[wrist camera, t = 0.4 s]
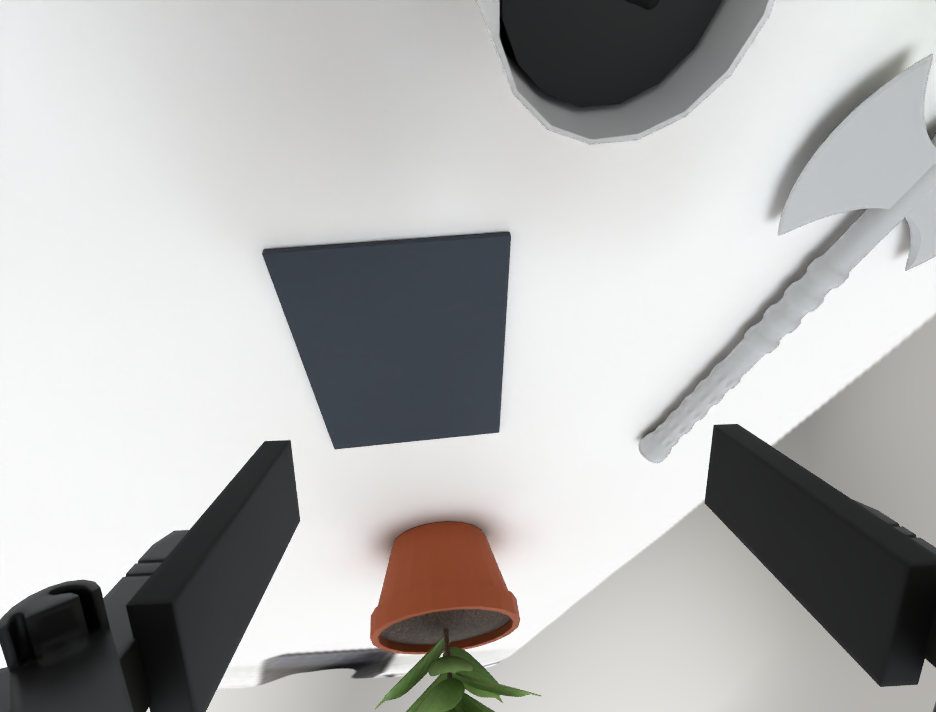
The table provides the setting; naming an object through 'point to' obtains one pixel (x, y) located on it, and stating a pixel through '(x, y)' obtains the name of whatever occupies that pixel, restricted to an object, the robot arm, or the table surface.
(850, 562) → the robot arm
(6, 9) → the table surface
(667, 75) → the white coffee cup
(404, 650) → the potted plant
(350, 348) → the felt pad
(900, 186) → the axe
